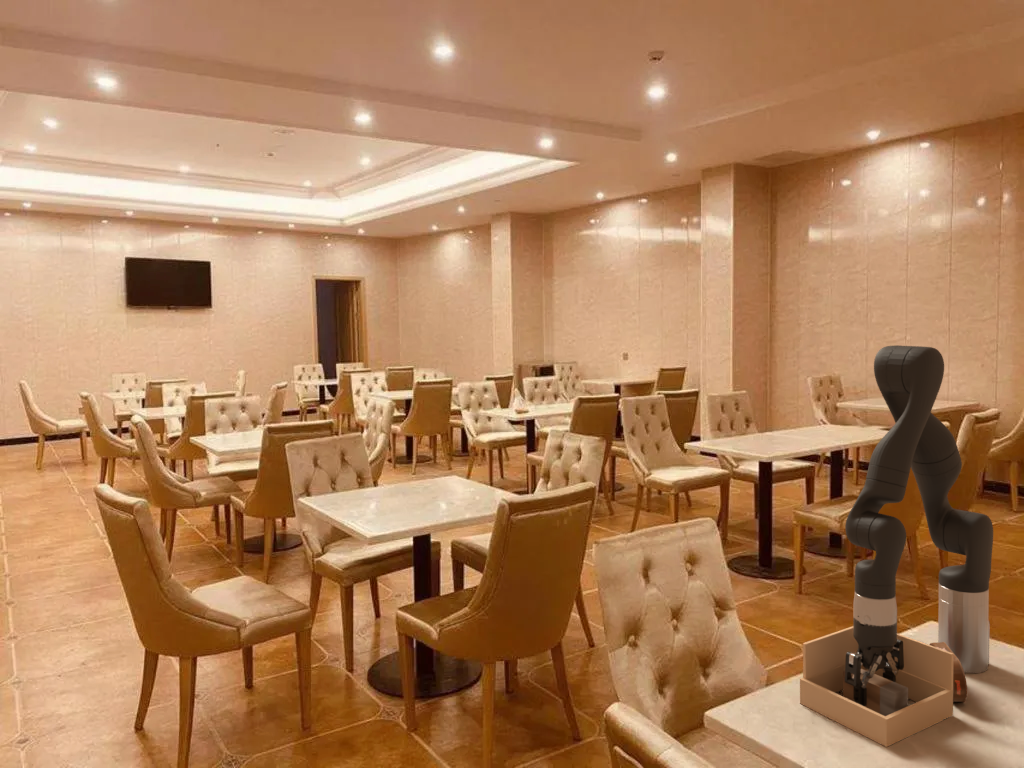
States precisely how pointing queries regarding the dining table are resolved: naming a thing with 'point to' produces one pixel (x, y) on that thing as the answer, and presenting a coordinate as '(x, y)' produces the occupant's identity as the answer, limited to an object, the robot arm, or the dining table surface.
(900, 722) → the carton
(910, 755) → the dining table surface
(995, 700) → the dining table surface
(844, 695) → the box
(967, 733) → the dining table surface
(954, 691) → the tin
